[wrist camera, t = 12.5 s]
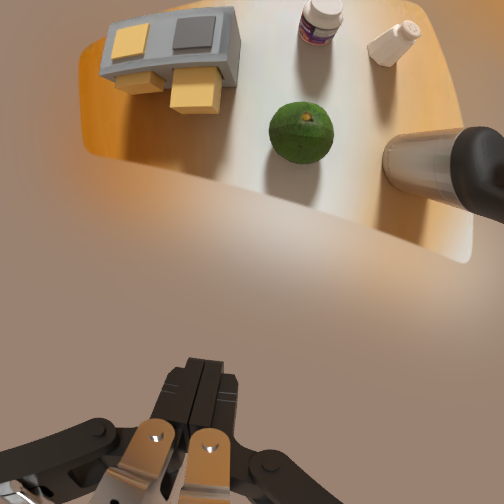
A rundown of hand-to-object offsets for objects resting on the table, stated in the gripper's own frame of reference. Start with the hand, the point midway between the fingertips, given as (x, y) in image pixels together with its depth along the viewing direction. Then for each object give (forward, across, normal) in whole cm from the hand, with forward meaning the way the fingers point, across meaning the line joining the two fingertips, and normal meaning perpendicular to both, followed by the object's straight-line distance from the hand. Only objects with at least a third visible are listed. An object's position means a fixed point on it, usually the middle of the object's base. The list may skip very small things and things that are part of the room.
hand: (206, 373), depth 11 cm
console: (+31, +11, -24) cm, 41 cm away
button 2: (+27, +7, -19) cm, 34 cm away
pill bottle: (+31, -8, -31) cm, 45 cm away
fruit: (+31, -6, -13) cm, 34 cm away
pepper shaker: (+31, -19, -30) cm, 47 cm away
